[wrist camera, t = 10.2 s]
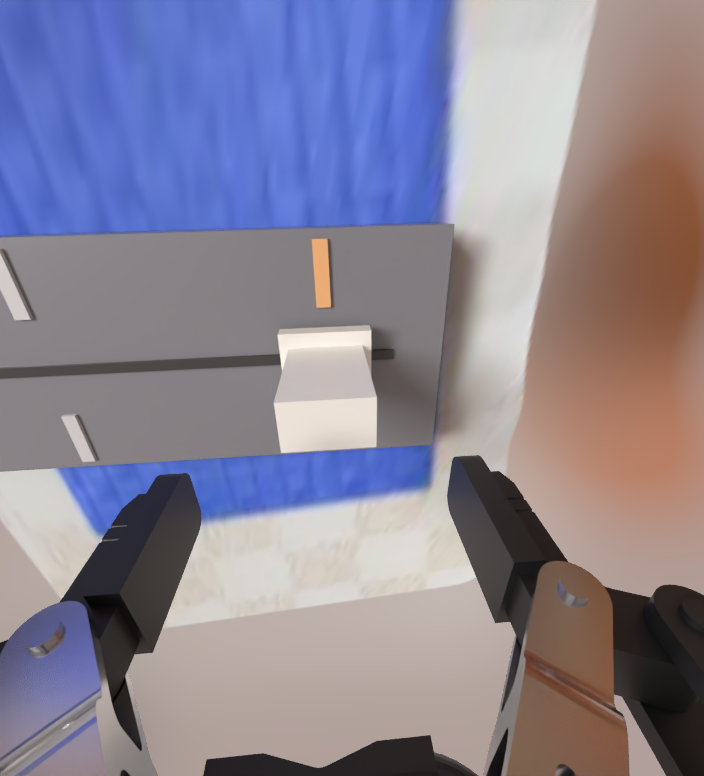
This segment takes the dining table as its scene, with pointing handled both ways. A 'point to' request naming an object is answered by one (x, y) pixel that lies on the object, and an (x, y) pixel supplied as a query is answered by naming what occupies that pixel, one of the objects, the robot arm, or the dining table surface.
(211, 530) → the dining table surface
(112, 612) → the robot arm
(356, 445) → the fader tab
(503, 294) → the dining table surface
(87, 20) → the dining table surface
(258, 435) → the fader console
